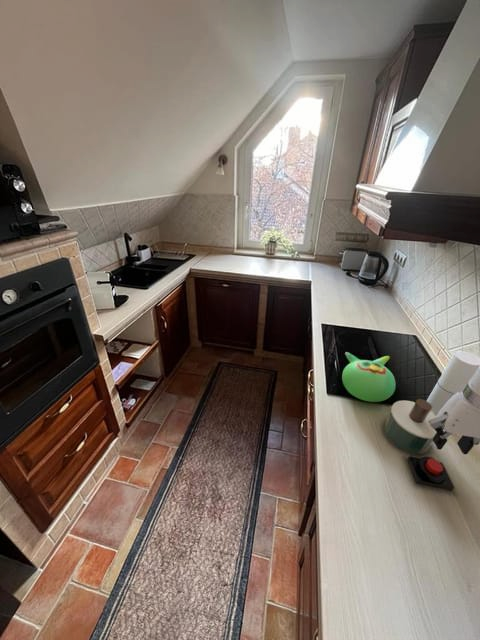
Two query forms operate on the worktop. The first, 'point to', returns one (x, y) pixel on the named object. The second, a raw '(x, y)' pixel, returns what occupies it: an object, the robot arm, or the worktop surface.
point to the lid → (414, 417)
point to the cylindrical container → (453, 379)
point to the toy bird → (368, 379)
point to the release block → (429, 474)
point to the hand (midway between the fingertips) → (449, 446)
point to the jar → (405, 438)
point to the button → (433, 466)
